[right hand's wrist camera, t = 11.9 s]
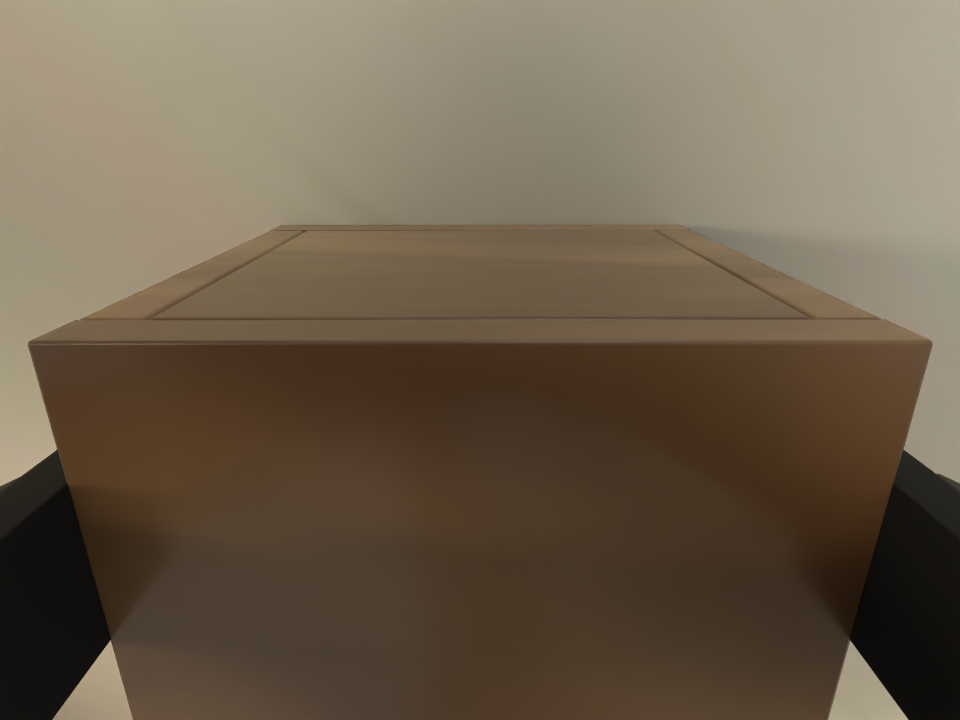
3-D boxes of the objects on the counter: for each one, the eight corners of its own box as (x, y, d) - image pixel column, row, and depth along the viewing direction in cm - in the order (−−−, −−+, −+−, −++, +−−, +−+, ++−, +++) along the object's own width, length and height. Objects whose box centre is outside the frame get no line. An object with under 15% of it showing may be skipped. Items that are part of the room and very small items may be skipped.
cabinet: (624, 717, 23) (720, 1109, 14) (337, 717, 23) (241, 1109, 14) (680, 224, 17) (935, 341, 7) (279, 225, 17) (24, 341, 7)
